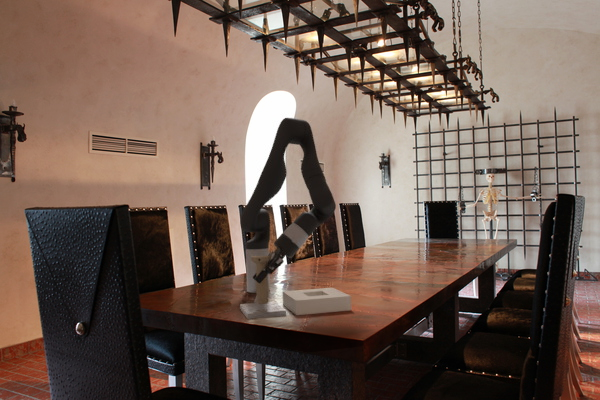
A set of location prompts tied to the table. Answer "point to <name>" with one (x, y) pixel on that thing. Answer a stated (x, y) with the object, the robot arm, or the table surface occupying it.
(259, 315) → the white flat slab
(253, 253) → the chalice
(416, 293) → the table surface
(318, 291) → the socket block
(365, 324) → the table surface
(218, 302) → the table surface
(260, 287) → the handle
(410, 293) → the table surface
